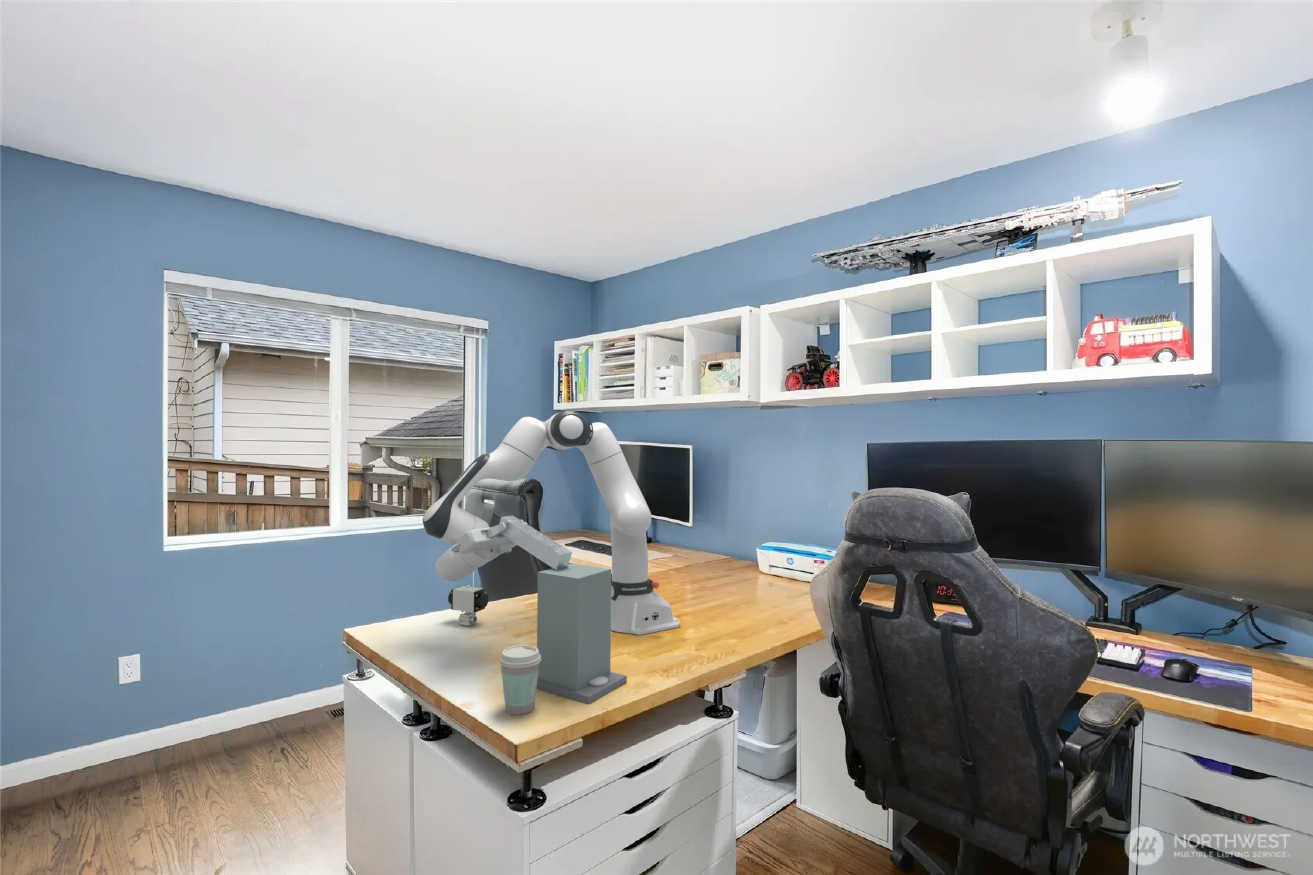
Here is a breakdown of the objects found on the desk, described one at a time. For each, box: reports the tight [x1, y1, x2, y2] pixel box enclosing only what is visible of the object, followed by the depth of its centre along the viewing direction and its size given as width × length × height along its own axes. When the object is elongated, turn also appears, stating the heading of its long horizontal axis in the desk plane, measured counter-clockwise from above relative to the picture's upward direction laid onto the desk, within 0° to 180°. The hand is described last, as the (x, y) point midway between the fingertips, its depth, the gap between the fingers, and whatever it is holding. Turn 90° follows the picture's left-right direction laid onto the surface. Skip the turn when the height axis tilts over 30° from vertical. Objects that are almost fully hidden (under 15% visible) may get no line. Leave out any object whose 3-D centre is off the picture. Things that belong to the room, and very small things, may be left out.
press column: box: [536, 563, 628, 705], centre depth 139 cm, size 16×14×26 cm
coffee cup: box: [498, 644, 541, 716], centre depth 126 cm, size 8×8×12 cm
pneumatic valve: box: [447, 584, 489, 627], centre depth 184 cm, size 6×12×12 cm, turn 70°
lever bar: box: [489, 510, 573, 570], centre depth 148 cm, size 24×4×4 cm, turn 58°
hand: (513, 523), depth 151 cm, fingers closed on lever bar, 4 cm apart
